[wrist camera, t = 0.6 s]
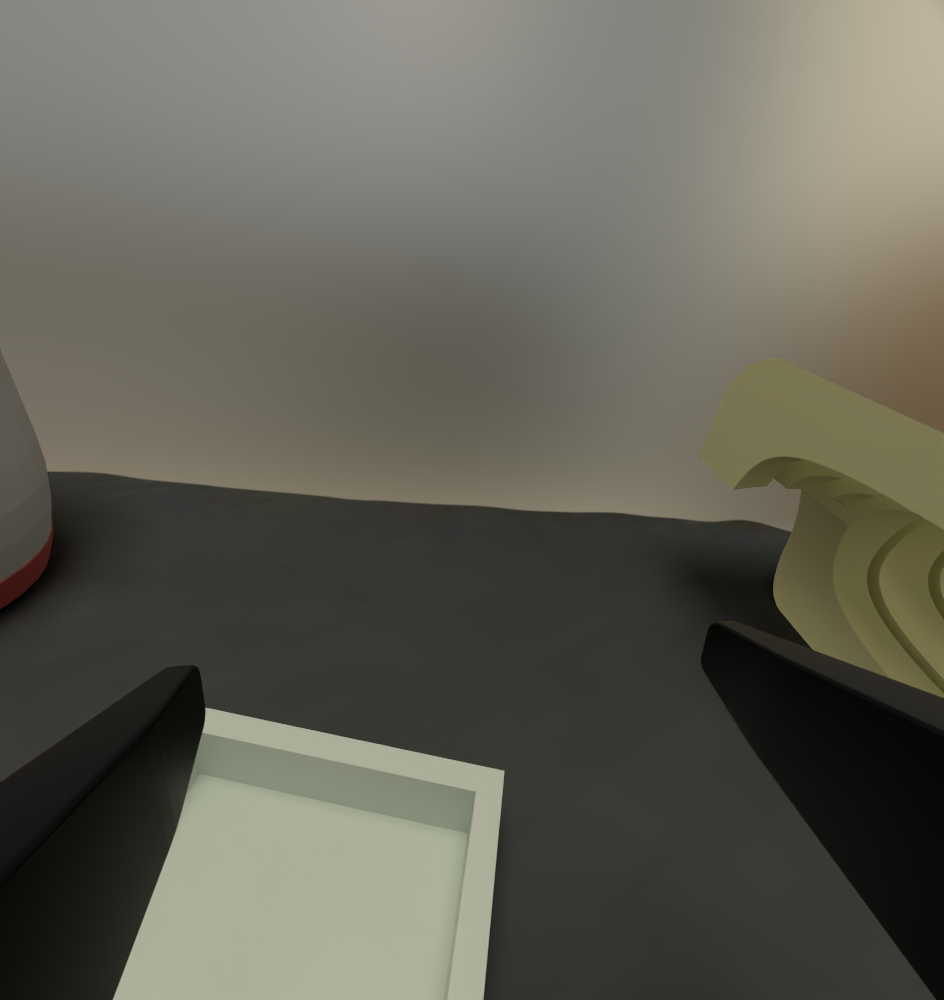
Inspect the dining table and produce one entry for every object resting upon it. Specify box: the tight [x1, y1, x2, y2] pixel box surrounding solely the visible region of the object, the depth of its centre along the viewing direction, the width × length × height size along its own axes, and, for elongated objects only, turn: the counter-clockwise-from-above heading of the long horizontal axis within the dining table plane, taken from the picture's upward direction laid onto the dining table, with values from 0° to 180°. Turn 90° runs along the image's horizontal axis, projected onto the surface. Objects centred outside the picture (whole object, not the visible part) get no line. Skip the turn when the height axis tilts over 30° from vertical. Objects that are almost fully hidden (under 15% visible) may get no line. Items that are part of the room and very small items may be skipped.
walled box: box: [113, 708, 504, 1000], centre depth 14 cm, size 14×14×4 cm
